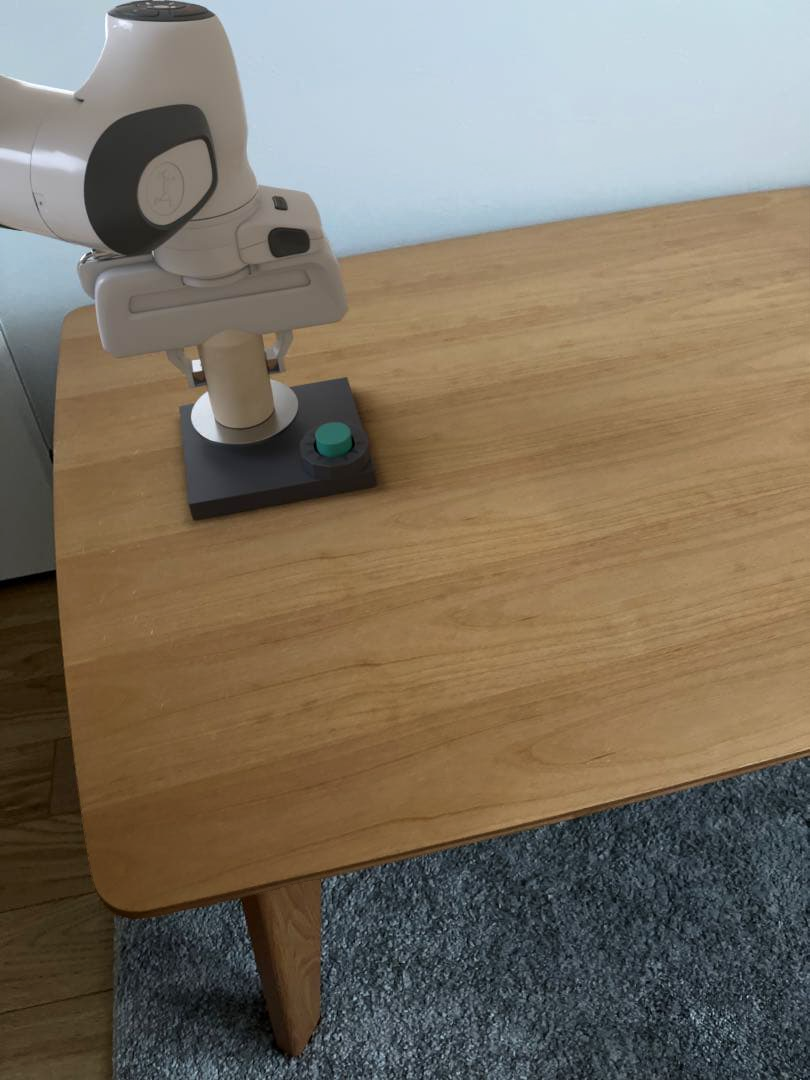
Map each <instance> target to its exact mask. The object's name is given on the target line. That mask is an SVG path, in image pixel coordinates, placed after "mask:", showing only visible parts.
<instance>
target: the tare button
mask: <svg viewBox="0 0 810 1080" xmlns="http://www.w3.org/2000/svg"><path fill="white" fill-rule="evenodd" d="M315 436H316V443H317V449H318V452H319V453H320V454H321V455H323V456H325V457H330V458H333V457H339V456H344V455H346V454H347V453H348V452H349V451H350V450H351V448H352V440H351V432H350V429H349V428H348V426H346V425H345V424H342V423H338V422H332V423H327V424H324V425H322V426H321V427H319V428H318V430H317V431H316V434H315Z"/></svg>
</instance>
